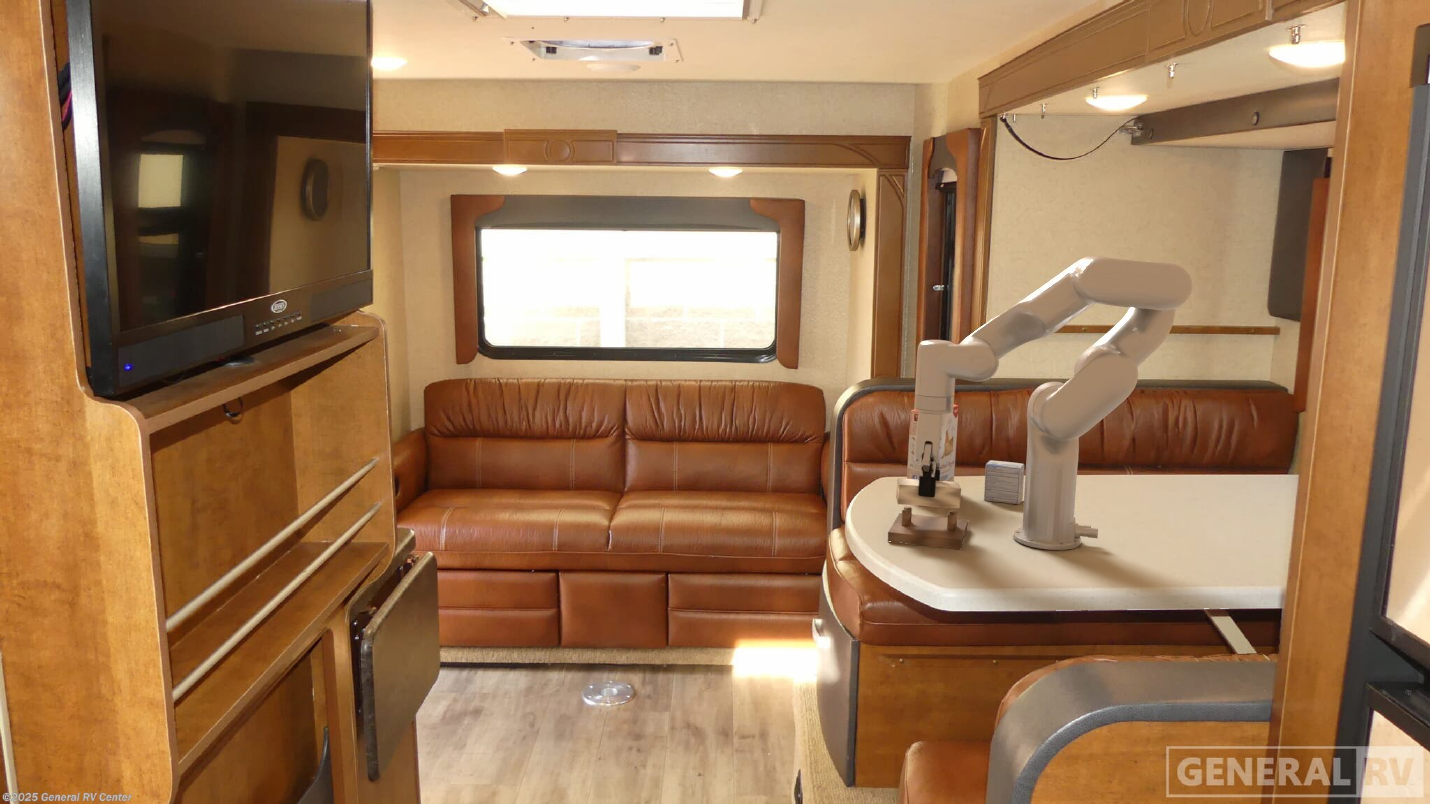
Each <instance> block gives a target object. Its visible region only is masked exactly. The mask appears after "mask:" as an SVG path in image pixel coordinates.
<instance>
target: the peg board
mask: <svg viewBox="0 0 1430 804" xmlns="http://www.w3.org/2000/svg"><path fill="white" fill-rule="evenodd" d="M912 512H913V508H912V507H911V506H904V507H903V509H902V510H901V512H900V513H898V514H897V516H896V519H894V522H893V523H892V525H891V527H890V528H889V530H888V532H887V542H888V541H891V542H890V543H894V542H902V543H901V544H903V543H907V544H906V545H912V544H916V545H915V546H924V547H934V548H941V549H952V550H962V547H963V545H964V544H963V543H964V541H965V538H966V535H967V532H968V528H969V527H968V526H969V519H962V518H960V519H959V518H958V511H955V510H950V511H948V513H947V517H943V516H930V515H924V514H923V515H921V514H920V515H919V514H913V513H912Z"/></svg>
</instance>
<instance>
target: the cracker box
mask: <svg viewBox="0 0 1430 804" xmlns="http://www.w3.org/2000/svg"><path fill="white" fill-rule="evenodd" d="M959 407H960V406H959V404H958V405H957V404H954V407H953V412H952V413H948V414H947V423H946V437H945V446H944V453H943V456H942V458H941V459H940V468H939V469H937V470H940V481H948V482H955V470H956V468H955V467H956V452H957V439H958V438H957V437H958V422H959V421H958V420H959ZM918 415H919V412H918V411H915V410H914V409H912V410H910V417H909V418H910V419H909V435H908V436H909V437H908V453H907V471H906V473H907V474H906V479H918V480H919V476H920V470H921V460H922V457H921V459H920V460H918V461H917V462H916V461H915V460H914V453H915V442H916V431H917V421H918Z"/></svg>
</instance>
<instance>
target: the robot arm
mask: <svg viewBox="0 0 1430 804" xmlns="http://www.w3.org/2000/svg"><path fill="white" fill-rule="evenodd" d="M1192 291H1193V280H1192V277H1191V275H1190V274H1189V272H1188V271H1187V270H1186V269H1185V268H1184V267H1182V266H1180V265H1178V264H1176V263H1172V262H1165V261H1164V262H1163V261H1143V260H1129V259H1122V258H1115V257H1108V256H1101V255H1088V256H1085V257H1082V258H1081V259H1078V260H1077V261H1075V262H1074V263H1073V264H1071V265H1070V266H1068V267H1067V268H1066V269H1064V270H1063V271H1061V272H1060V273H1059V274H1057V275H1056V276H1055V277H1053V278H1052V279H1051V280H1049V281H1048V282H1046V283H1045V284H1044V285H1042V286H1041V287H1039V288H1038V289H1036V290H1035V291H1034V292H1032V293H1031V294H1029V295H1028V296H1026V297H1025V298H1023V299H1022V300H1020V301H1019V302H1017V303H1015V304H1013V306H1011V307H1010V308H1008V309H1006V310H1005V311H1003V312H1002V313H1000V314H999V315H997V316H995V317H994V318H992V319H990V320H989V321H988V322H987V323H985V324H983V325H982V326H980V327H979V328H978V329H976V330H975V331H974V332H972V333H971V334H970V335H968V336H967V337H965V338H964V339H963V340H962V341H961V342H959V344H956V343H954V342H953V341H949V340H943V339H926V340H922V341H920V342H919V344H918V346H917V352H916V353H917V355H916V375H915V387H914V388H915V389H914V390H915V391H914V403H913V404H914V408H913V410H915V411H918V412H919V415H918V421H917V431H916V442H915V453H914V460H915V461H916V462H917V461H918V460H920V459H921V457H922V460H921V470H920V476H919V490H918V495H919V496H923V497H932V498H933V497H935V489H936V481H940V470H937V469H939V468H940V459H941V458H942V456H943V453H944V446H945V437H946V423H947V414H948V413H952V412H953V407H954V405H955V404H954V403H955V400H954V399H955V388H956V387H955V386H956V379H959V380H964V381H971V382H975V383H976V382H978V383H979V382H985V381H988V380H989V379H992V377H993V376H995V374H996V373H997V371H998V370H999V367H1000V366H999V365H1000V359H1001V358H1003V357H1005V356H1006V355H1008V354H1009V353H1011V352H1012V351H1013V350H1015V349H1017V348H1019V347H1021V346H1023V345H1026V343H1027V344H1028V343H1029V342H1033V341H1037V340H1040V339H1043V338H1047V337H1049V336H1050V335H1053V334H1055V333H1056V332H1057V331H1059V330H1060V329H1061V328H1064V326H1066V325H1067V324H1068V323H1070V322H1072V321H1073V320H1074V319H1075V318H1077V317H1078V316H1080V315H1081V314H1082V313H1084V312H1086V311H1087V310H1089V309H1090V308H1091V307H1093V306H1094V305H1096V304H1098V305H1105V306H1113V307H1120V308H1128V309H1127V310H1126V313H1125V314H1124V315H1123V317H1122V318H1121V319H1120V320H1119V321H1118V322H1117V323H1116V324H1115V325H1114V326H1113V327H1112V328H1111V329H1110V330H1108V331H1107V332H1106V333H1105V334H1104V335H1102V336H1101V337H1100V338H1099V339H1098V340H1097V341H1095V343H1093V344H1092V345H1091V346H1090V347H1088V348H1087V349H1086V350H1084V351H1083V352H1082V353H1081V354H1080V355H1079V356H1078V357H1077V359H1076V361H1075V362H1074V367H1073V374H1074V375H1072V376H1071V378H1069V379H1068V380H1066V381H1065V382H1061V381H1048V382H1045V383H1042V384H1040V385H1039V386H1038V387H1037V388H1035V390H1033V392H1032V393H1031V395H1030V397H1029V400H1028V402H1027V403H1028V404H1027V410H1026V419H1027V448H1026V464H1025V474H1024V479H1025V480H1024V491H1023V509H1022V510H1023V512H1022V526H1021V527H1019V528H1016V529H1015V530H1014V531H1013V538H1014V540H1015V541H1016V542H1018V543H1020V544H1022V545H1024V546H1027V547H1031V548H1036V549H1040V550H1048V551H1051V550H1052V551H1063V550H1064V551H1065V550H1071V549H1075V548H1078V547H1079V546H1080V545H1081V542H1082V541H1081V540H1082V537H1086V538H1090V539H1091V538H1092V539H1098V534H1099V528H1096V527H1092V525H1086V524H1084V525H1083V524H1081V525H1080V524H1079V523H1076V517H1075V508H1076V507H1075V505H1076V493H1077V492H1076V491H1077V479H1078V466H1079V465H1078V464H1079V450H1080V449H1079V447H1080V446H1079V444H1080V443H1079V442H1080V441H1079V440H1080V439H1079V438H1080V437H1082V436H1083V435H1084V434H1086V433H1087V432H1089V431H1090V430H1092V428H1094V427H1095V426H1096V425H1097V424H1098V423H1099V422H1101V421H1102V420H1104V419H1105V417H1107V416H1108V415H1109V414H1111V412H1113V411H1114V410H1115V409H1116V408H1117V407H1118V406H1120V405H1121V404H1123V402H1125V400H1127V398H1128V397H1129V396H1130V395H1131V394H1132V393H1133V391H1134V390H1135V388H1136V386H1137V383H1138V378H1139V369H1138V367H1140V365H1142V363H1144V362H1145V361H1146V360H1148V358H1149V357H1150V356H1151V355H1152V354H1153V353H1154V352H1155V351H1157V350H1158V348H1160V346H1161V345H1162V344H1163V343H1164V342H1165V341H1166V339H1167V338H1168V336H1169V334H1170V332H1171V330H1172V327H1173V325H1174V321H1175V316H1176V309H1177V308H1180V307H1181V306H1182V305H1184V304H1185V303H1186V302H1187V301H1188V299H1189V298H1190V297H1191V295H1192Z"/></svg>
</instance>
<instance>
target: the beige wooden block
mask: <svg viewBox="0 0 1430 804" xmlns="http://www.w3.org/2000/svg"><path fill="white" fill-rule="evenodd" d="M918 490H919V480H918V479H907V478H901V477H899V478H897V482H896V494H895V498H896V502H897V505H904V506H907V505H909V506H921V507H922V506H923V507H935V508H947V509H949V508H951V509H960V507H961V495H962V487H961V485H960V484H959V482H958V481H954V482H948V481H936V489H935V497H933V498H932V497H923V496H919V495H918Z"/></svg>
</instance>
